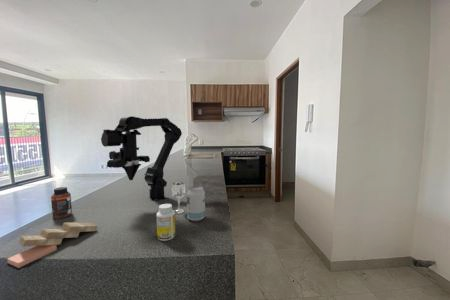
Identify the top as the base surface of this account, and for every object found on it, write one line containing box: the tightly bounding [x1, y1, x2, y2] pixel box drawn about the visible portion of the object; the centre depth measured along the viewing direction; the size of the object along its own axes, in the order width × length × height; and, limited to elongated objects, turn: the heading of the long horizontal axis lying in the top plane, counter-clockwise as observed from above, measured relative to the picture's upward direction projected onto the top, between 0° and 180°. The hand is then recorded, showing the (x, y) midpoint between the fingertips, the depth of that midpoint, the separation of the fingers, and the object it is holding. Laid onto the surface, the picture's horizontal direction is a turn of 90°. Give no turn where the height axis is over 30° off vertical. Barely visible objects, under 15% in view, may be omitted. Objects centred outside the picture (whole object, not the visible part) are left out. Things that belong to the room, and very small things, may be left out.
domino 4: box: [61, 222, 98, 233], centre depth 63 cm, size 2×5×8 cm
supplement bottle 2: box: [156, 203, 176, 242], centre depth 61 cm, size 6×6×10 cm
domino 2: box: [6, 245, 58, 269], centre depth 52 cm, size 2×5×8 cm
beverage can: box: [186, 185, 206, 222], centre depth 74 cm, size 7×7×12 cm
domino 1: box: [18, 234, 63, 248], centre depth 54 cm, size 2×5×8 cm
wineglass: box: [171, 181, 187, 214], centre depth 81 cm, size 6×6×12 cm
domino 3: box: [39, 228, 81, 239], centre depth 59 cm, size 2×5×8 cm
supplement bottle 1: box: [50, 186, 73, 219], centre depth 76 cm, size 6×6×11 cm
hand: (131, 180), depth 86 cm, fingers closed
